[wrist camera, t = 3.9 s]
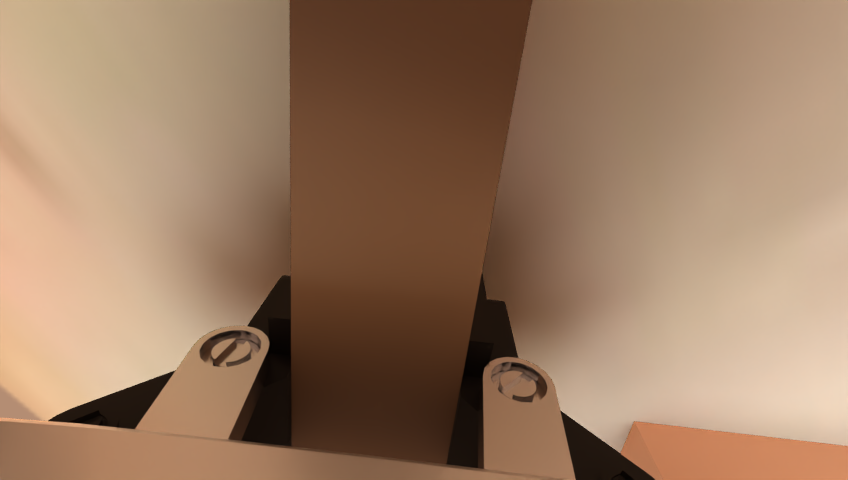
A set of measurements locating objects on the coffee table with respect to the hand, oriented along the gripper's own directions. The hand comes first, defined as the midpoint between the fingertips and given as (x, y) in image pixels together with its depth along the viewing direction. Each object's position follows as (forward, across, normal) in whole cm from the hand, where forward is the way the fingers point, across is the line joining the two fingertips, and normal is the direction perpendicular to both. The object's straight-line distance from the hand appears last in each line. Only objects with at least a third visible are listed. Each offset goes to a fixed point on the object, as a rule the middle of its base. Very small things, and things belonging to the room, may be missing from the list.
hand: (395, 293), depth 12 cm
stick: (0, 0, 0) cm, 0 cm away
